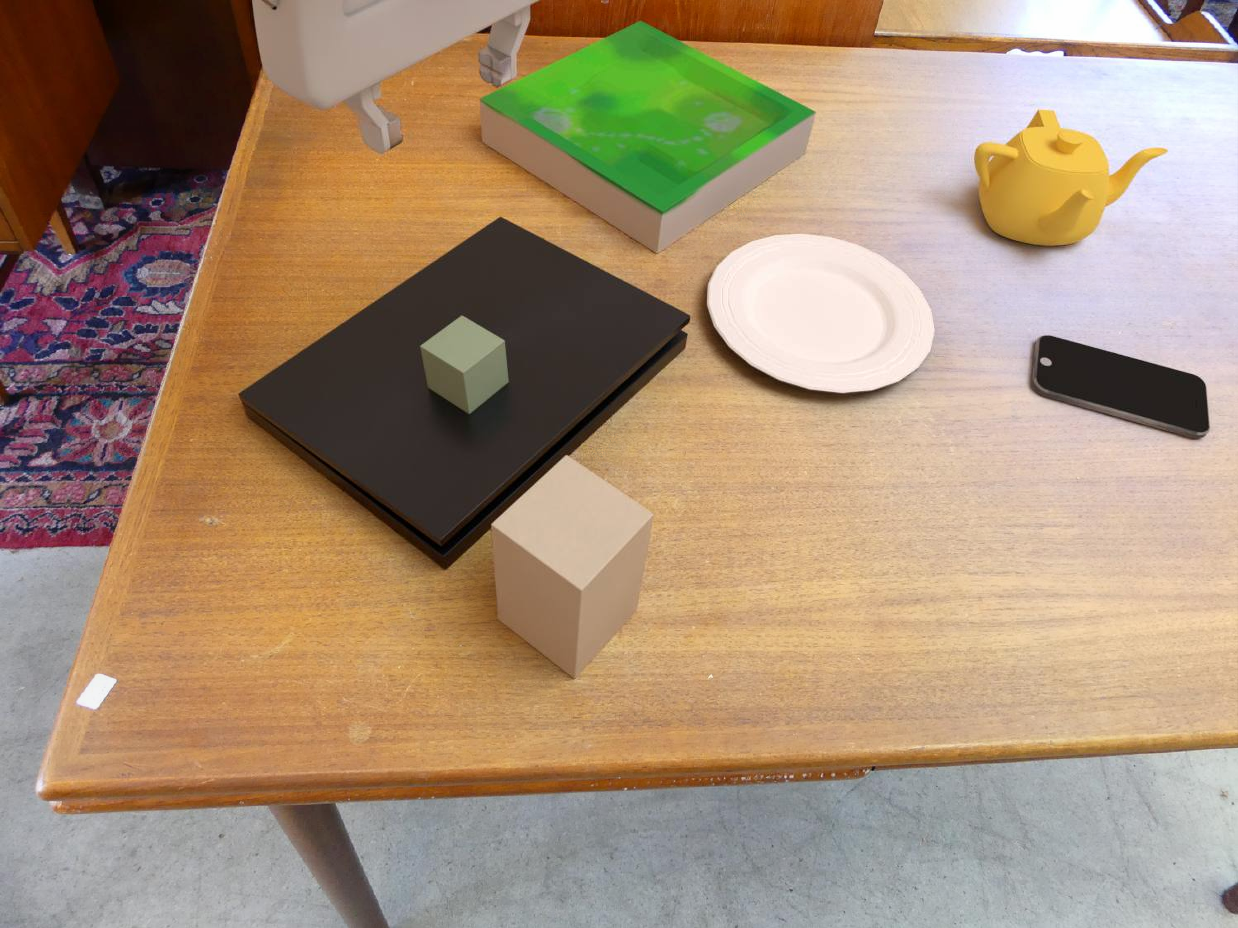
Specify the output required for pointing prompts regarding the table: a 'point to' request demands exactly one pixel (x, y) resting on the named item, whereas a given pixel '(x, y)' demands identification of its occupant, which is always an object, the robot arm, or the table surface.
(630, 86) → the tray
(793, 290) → the plate
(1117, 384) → the smartphone
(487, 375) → the block
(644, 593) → the table surface
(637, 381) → the laptop
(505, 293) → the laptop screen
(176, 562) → the table surface
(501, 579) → the stand
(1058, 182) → the teapot
